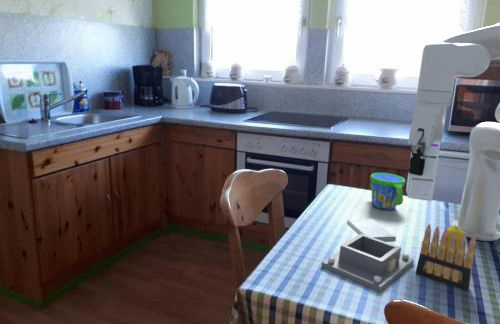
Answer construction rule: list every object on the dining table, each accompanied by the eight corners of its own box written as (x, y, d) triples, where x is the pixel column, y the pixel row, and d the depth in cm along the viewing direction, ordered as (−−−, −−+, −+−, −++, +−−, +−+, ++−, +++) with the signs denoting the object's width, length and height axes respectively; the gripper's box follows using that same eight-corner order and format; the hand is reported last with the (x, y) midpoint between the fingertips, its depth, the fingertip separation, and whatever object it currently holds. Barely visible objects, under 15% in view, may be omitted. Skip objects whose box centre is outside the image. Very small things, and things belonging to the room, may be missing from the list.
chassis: (359, 243, 106) (361, 226, 105) (413, 263, 97) (416, 245, 96) (321, 266, 93) (323, 247, 92) (379, 292, 84) (383, 271, 83)
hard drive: (396, 236, 110) (373, 218, 121) (368, 237, 108) (347, 219, 119) (395, 242, 110) (372, 223, 122) (367, 243, 108) (346, 224, 120)
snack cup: (410, 216, 128) (415, 184, 125) (378, 215, 126) (383, 184, 124) (387, 198, 143) (392, 170, 140) (359, 198, 141) (362, 170, 139)
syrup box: (432, 201, 98) (442, 141, 95) (406, 198, 100) (415, 139, 96) (429, 193, 104) (438, 137, 100) (404, 190, 105) (412, 135, 101)
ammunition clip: (415, 273, 93) (423, 224, 90) (417, 270, 94) (426, 221, 91) (467, 291, 87) (478, 239, 84) (469, 288, 88) (480, 236, 85)
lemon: (463, 255, 103) (469, 225, 101) (461, 264, 99) (468, 233, 97) (439, 249, 106) (445, 220, 104) (436, 257, 101) (442, 227, 99)
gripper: (430, 94, 104) (419, 162, 109) (402, 98, 92) (392, 174, 96) (462, 98, 99) (449, 168, 104) (437, 102, 87) (424, 181, 91)
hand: (422, 170), depth 100 cm, fingers closed on syrup box, 7 cm apart
